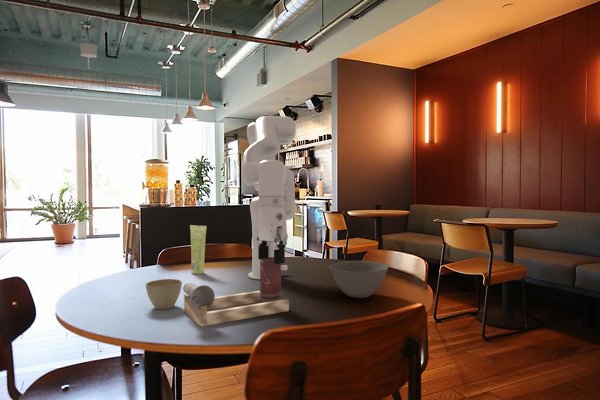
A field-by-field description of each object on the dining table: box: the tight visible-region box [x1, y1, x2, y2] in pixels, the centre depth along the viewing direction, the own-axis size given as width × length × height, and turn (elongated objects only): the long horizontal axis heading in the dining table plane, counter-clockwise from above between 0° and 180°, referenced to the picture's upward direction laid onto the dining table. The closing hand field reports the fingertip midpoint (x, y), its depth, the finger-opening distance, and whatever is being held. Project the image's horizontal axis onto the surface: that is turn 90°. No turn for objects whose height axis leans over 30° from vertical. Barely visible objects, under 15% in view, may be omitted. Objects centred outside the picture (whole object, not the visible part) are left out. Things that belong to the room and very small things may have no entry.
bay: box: [182, 282, 290, 327], centre depth 114 cm, size 28×16×10 cm, turn 122°
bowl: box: [328, 260, 389, 299], centre depth 132 cm, size 19×19×10 cm
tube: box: [189, 224, 207, 275], centre depth 167 cm, size 6×5×20 cm
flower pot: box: [145, 278, 183, 310], centre depth 119 cm, size 10×10×7 cm
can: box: [259, 257, 282, 303], centre depth 121 cm, size 6×6×14 cm
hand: (271, 261), depth 120 cm, fingers open, 9 cm apart
